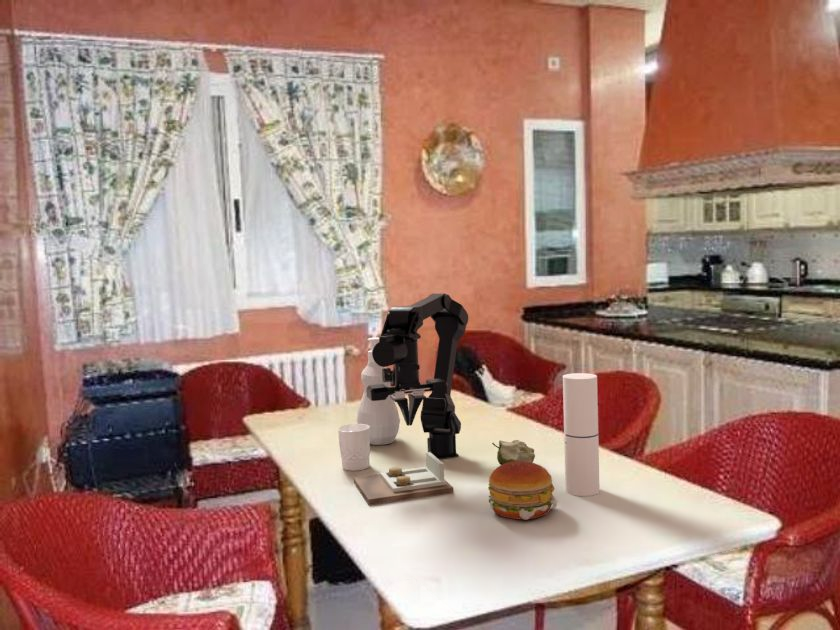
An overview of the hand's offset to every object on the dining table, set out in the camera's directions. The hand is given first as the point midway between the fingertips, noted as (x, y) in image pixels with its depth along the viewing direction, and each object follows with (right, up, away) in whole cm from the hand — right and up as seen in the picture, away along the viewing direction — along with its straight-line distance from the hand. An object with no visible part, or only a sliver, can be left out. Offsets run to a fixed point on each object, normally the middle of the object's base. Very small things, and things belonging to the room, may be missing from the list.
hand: (409, 425), depth 169 cm
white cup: (-13, -12, +9) cm, 20 cm away
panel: (+1, -11, -7) cm, 14 cm away
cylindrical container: (+38, -12, -15) cm, 42 cm away
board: (-1, -13, -8) cm, 15 cm away
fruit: (+26, -11, +4) cm, 28 cm away
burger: (+23, -14, -26) cm, 37 cm away
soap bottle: (-9, -10, +33) cm, 35 cm away
